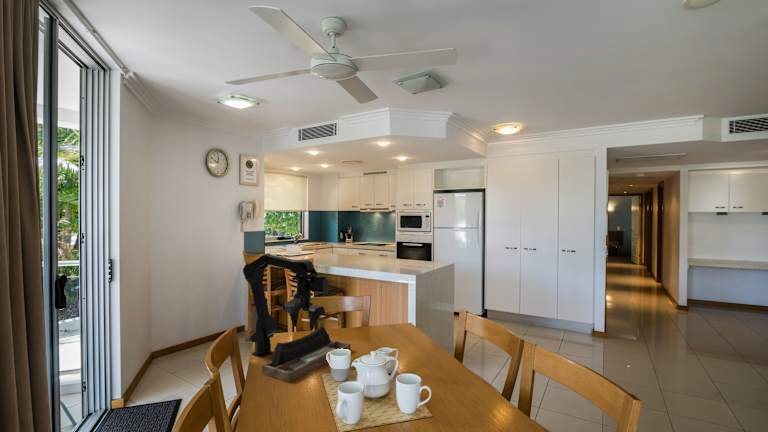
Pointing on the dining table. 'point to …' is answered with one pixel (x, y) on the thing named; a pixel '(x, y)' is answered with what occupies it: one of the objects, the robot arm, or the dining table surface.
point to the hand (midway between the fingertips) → (303, 328)
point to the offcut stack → (310, 358)
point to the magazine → (299, 347)
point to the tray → (281, 370)
